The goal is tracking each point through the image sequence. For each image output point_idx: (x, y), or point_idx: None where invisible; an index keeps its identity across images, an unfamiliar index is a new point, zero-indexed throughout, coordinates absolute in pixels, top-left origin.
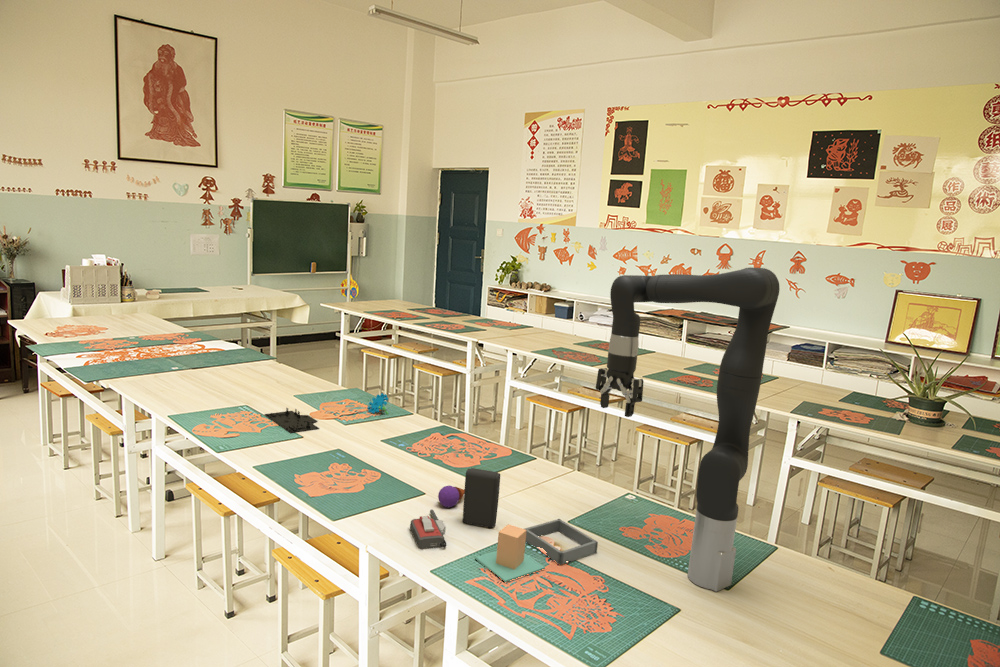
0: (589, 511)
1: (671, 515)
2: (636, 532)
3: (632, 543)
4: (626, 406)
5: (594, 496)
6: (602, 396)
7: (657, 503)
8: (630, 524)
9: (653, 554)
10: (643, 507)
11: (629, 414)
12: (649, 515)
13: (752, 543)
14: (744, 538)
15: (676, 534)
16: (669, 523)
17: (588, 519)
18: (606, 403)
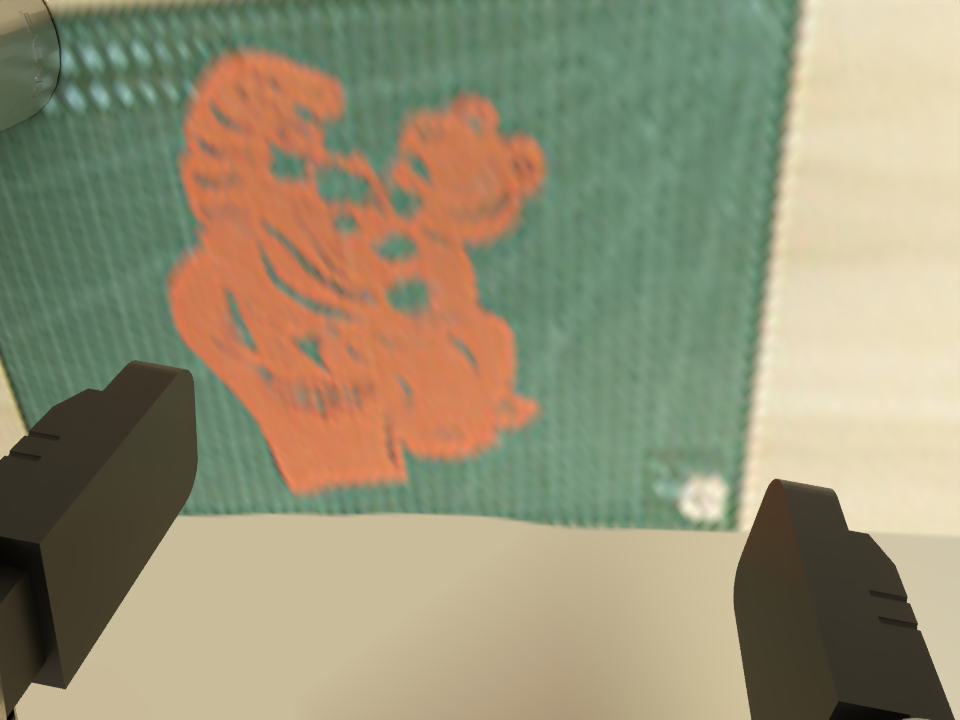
0: (772, 193)
1: (459, 466)
2: (454, 184)
3: (391, 55)
4: (62, 481)
5: (851, 373)
6: (871, 663)
7: (571, 524)
8: (527, 238)
9: (257, 41)
10: (592, 445)
11: (73, 398)
12: (523, 394)
13: None
14: None
15: (330, 319)
16: (416, 391)
17: (721, 100)
18: (758, 605)
